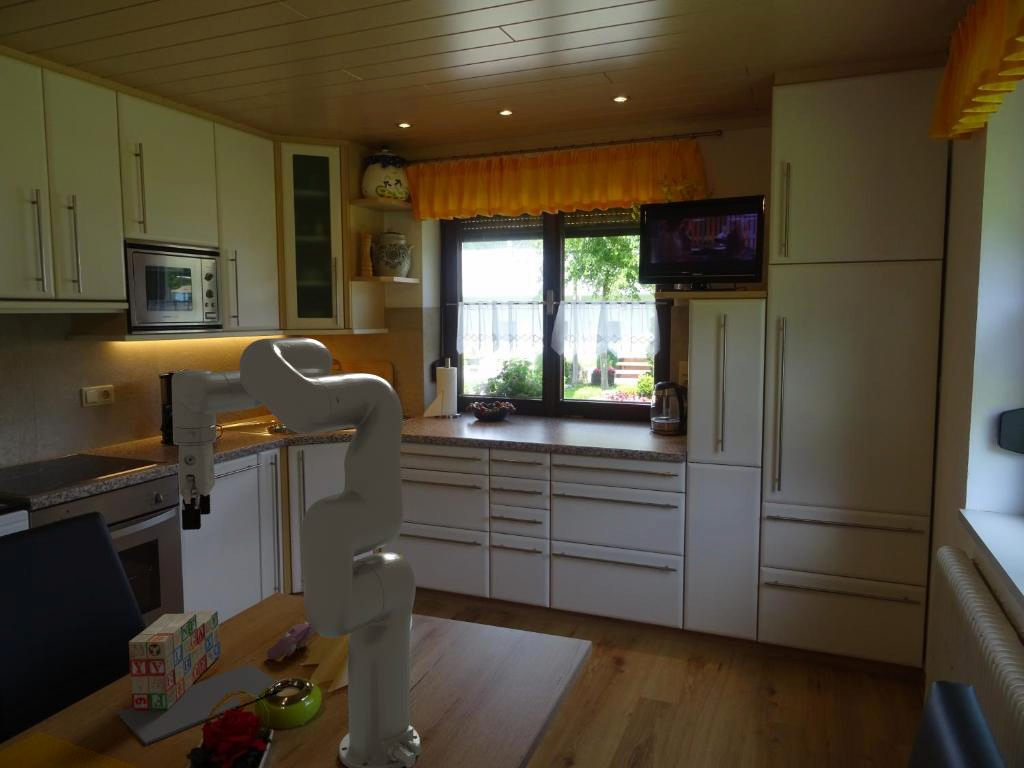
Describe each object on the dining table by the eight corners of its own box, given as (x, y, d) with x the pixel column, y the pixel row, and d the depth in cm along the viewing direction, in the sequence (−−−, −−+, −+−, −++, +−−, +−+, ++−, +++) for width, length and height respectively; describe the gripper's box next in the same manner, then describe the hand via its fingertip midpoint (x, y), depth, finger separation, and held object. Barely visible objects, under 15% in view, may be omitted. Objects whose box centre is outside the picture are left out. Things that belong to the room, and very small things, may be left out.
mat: (283, 689, 133) (283, 686, 133) (146, 745, 116) (145, 742, 116) (250, 666, 142) (250, 663, 142) (118, 715, 124) (117, 712, 124)
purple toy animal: (280, 670, 143) (293, 643, 141) (263, 657, 144) (275, 629, 143) (310, 649, 152) (322, 622, 151) (294, 636, 154) (306, 610, 152)
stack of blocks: (190, 655, 146) (187, 595, 145) (221, 655, 146) (218, 595, 145) (132, 710, 125) (127, 641, 124) (168, 710, 124) (163, 640, 124)
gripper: (207, 442, 131) (209, 534, 133) (222, 426, 148) (224, 508, 150) (162, 443, 130) (165, 536, 132) (183, 427, 146) (185, 509, 148)
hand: (196, 521), depth 141 cm, fingers open, 9 cm apart
